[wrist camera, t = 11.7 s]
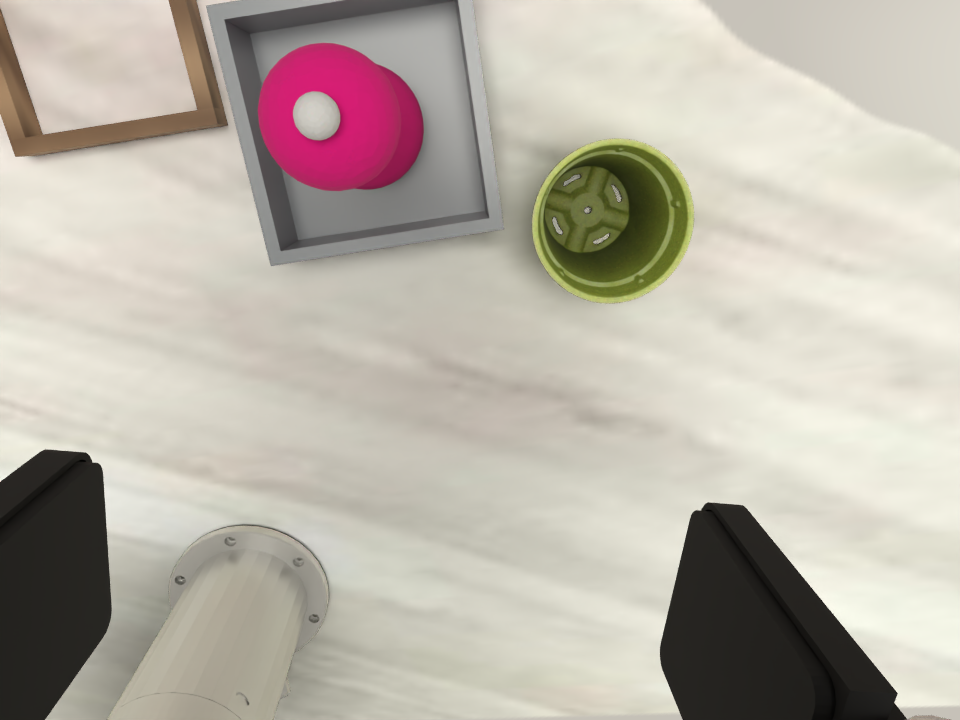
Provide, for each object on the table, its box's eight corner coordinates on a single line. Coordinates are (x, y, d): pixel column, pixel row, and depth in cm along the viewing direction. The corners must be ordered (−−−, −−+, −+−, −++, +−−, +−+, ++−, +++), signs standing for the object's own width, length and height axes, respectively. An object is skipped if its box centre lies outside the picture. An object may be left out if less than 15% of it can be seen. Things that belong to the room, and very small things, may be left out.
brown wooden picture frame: (227, 125, 44) (217, 124, 42) (34, 156, 44) (15, 156, 42) (170, -102, 40) (156, -114, 38) (-43, -67, 40) (-68, -78, 38)
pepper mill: (430, 182, 45) (418, 207, 26) (322, 189, 45) (231, 220, 26) (420, 66, 43) (400, 1, 24) (307, 73, 43) (195, 13, 24)
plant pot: (559, 300, 49) (581, 332, 41) (493, 186, 46) (502, 195, 38) (673, 233, 48) (720, 251, 39) (612, 112, 45) (649, 105, 37)
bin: (497, 219, 47) (504, 229, 41) (292, 251, 47) (270, 266, 41) (465, -13, 42) (467, -37, 37) (237, 23, 42) (205, 5, 37)
